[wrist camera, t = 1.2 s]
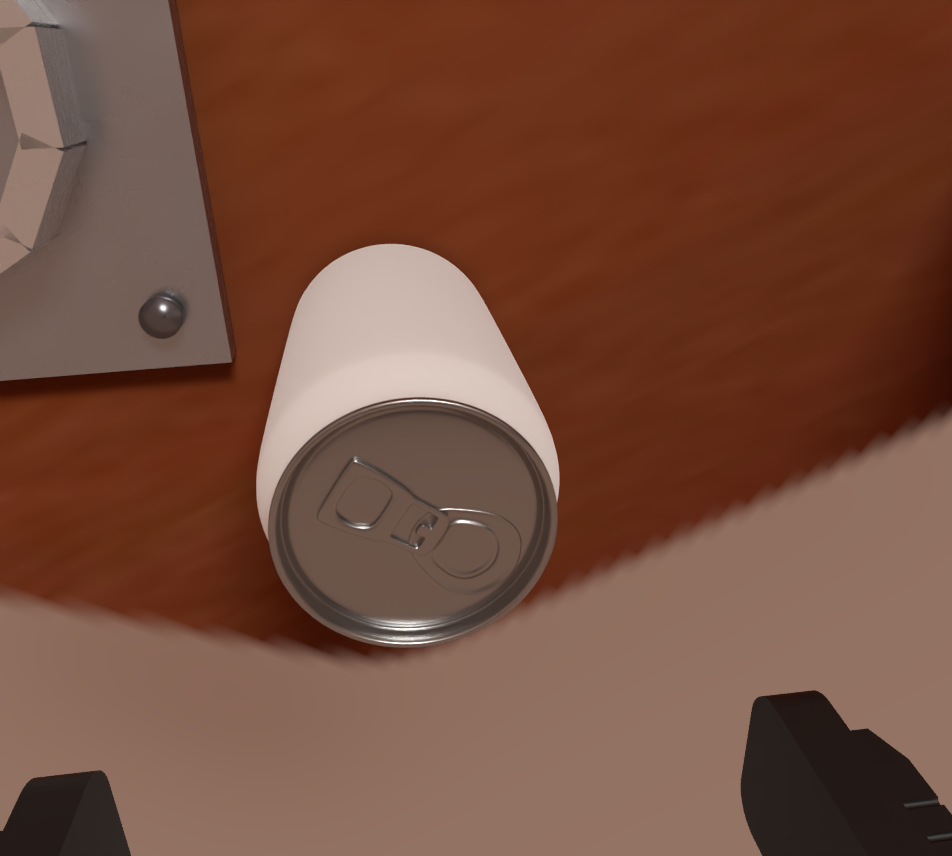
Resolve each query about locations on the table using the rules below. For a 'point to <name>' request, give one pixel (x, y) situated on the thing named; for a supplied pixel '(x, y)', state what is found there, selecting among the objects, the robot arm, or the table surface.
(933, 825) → the robot arm
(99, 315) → the duct flange
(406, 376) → the can
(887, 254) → the table surface
